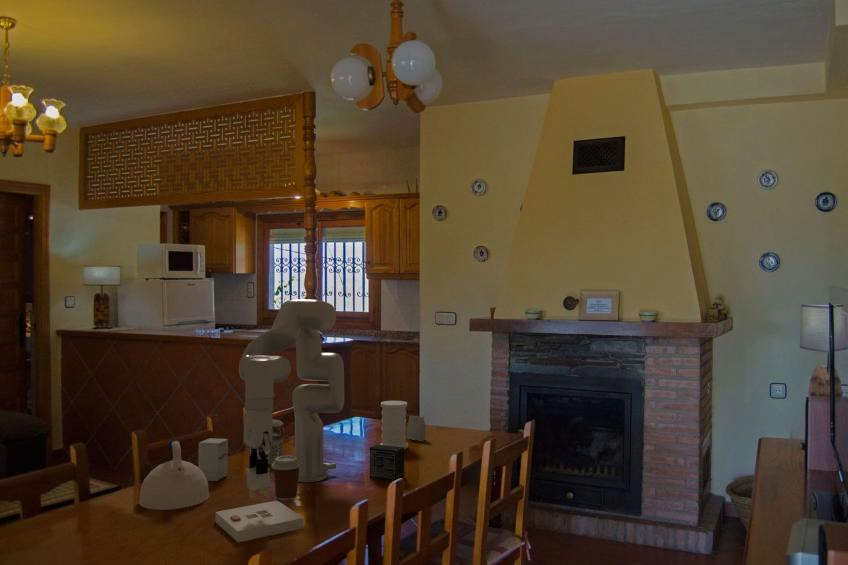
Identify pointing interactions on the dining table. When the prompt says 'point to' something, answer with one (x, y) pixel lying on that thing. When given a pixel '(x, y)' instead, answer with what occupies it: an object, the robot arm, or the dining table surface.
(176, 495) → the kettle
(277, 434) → the french press
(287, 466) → the coffee cup
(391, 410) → the decorative container
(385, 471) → the small box
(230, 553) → the dining table surface
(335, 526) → the dining table surface
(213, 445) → the supplement box
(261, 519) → the socket
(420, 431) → the grey tapered block
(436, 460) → the dining table surface
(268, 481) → the plug
